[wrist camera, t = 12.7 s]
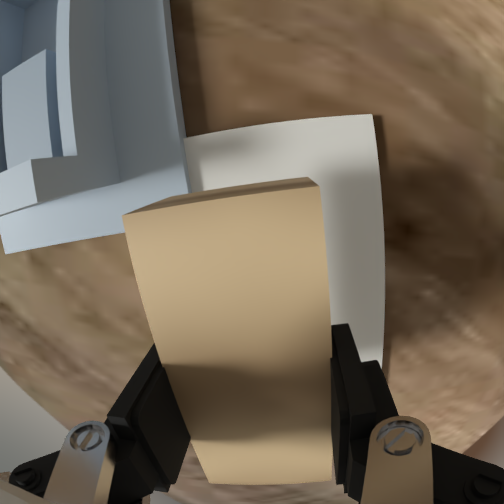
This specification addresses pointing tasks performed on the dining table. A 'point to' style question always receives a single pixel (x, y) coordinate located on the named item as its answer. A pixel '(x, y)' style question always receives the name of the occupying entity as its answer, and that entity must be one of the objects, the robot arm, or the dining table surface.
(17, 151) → the jig
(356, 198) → the mat
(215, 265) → the oak block
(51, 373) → the dining table surface
